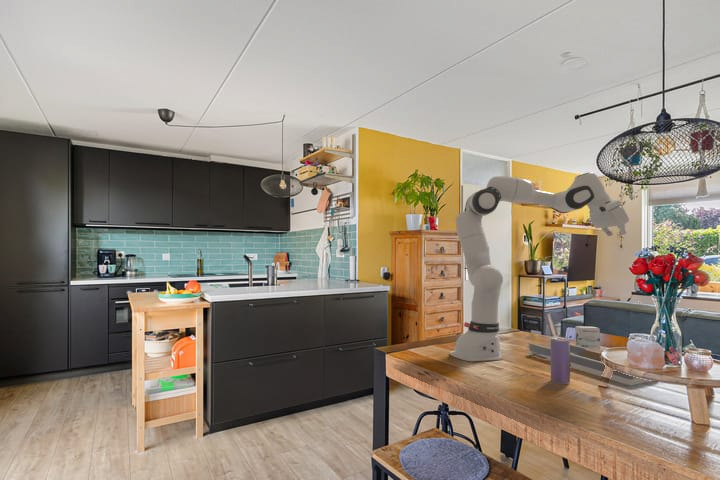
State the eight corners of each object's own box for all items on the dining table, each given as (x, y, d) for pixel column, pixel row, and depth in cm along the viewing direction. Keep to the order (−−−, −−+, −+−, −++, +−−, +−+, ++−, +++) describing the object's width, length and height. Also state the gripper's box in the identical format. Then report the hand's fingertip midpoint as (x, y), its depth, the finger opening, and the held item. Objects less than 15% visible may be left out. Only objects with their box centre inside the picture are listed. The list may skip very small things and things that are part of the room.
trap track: (630, 385, 130) (630, 367, 130) (529, 354, 168) (529, 341, 168) (658, 379, 137) (658, 362, 137) (554, 351, 175) (554, 338, 175)
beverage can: (562, 385, 129) (562, 340, 130) (546, 380, 134) (546, 337, 135) (573, 383, 132) (573, 339, 132) (557, 378, 137) (557, 335, 138)
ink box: (594, 352, 174) (594, 326, 175) (600, 355, 169) (600, 328, 170) (574, 351, 175) (574, 325, 175) (579, 354, 170) (579, 327, 171)
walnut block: (599, 366, 145) (599, 353, 145) (584, 362, 150) (584, 349, 151) (609, 364, 147) (609, 351, 148) (594, 360, 153) (594, 348, 153)
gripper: (582, 212, 177) (596, 239, 176) (608, 206, 156) (625, 237, 155) (594, 206, 176) (609, 233, 176) (622, 199, 156) (639, 230, 155)
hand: (616, 235), depth 165 cm, fingers open, 8 cm apart
